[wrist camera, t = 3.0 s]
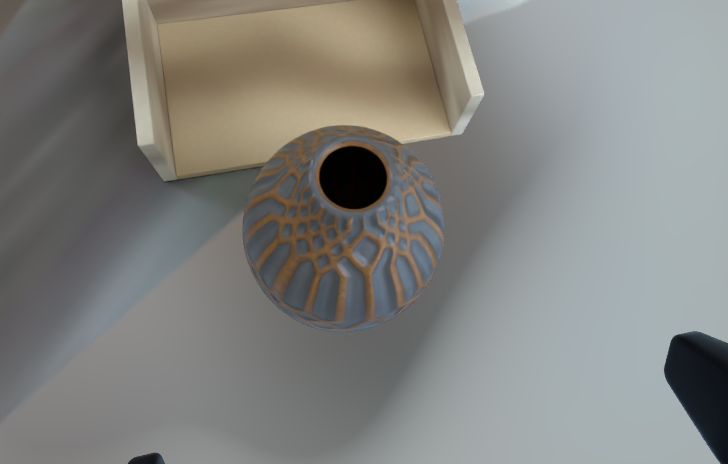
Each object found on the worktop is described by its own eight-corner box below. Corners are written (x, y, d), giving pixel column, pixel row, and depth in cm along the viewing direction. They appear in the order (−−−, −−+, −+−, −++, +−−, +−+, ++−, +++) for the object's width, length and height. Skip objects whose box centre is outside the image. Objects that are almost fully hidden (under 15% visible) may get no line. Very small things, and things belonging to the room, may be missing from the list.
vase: (453, 244, 23) (532, 160, 14) (353, 376, 21) (378, 367, 13) (327, 148, 24) (333, 15, 15) (219, 267, 22) (159, 191, 13)
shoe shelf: (462, 134, 24) (497, 72, 20) (163, 182, 23) (122, 126, 18) (418, -20, 27) (440, -109, 22) (143, 12, 25) (102, -78, 20)
